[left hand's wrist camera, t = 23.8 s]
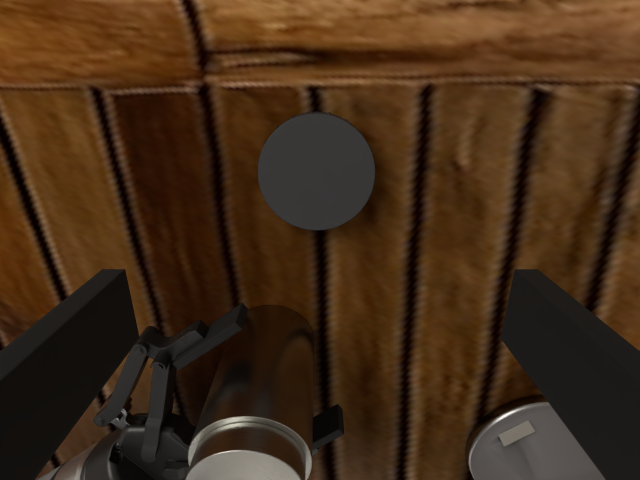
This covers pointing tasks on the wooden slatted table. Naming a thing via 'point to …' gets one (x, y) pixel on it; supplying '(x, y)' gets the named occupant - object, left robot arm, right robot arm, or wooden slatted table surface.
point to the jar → (259, 403)
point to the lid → (316, 171)
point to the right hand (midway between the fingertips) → (295, 370)
